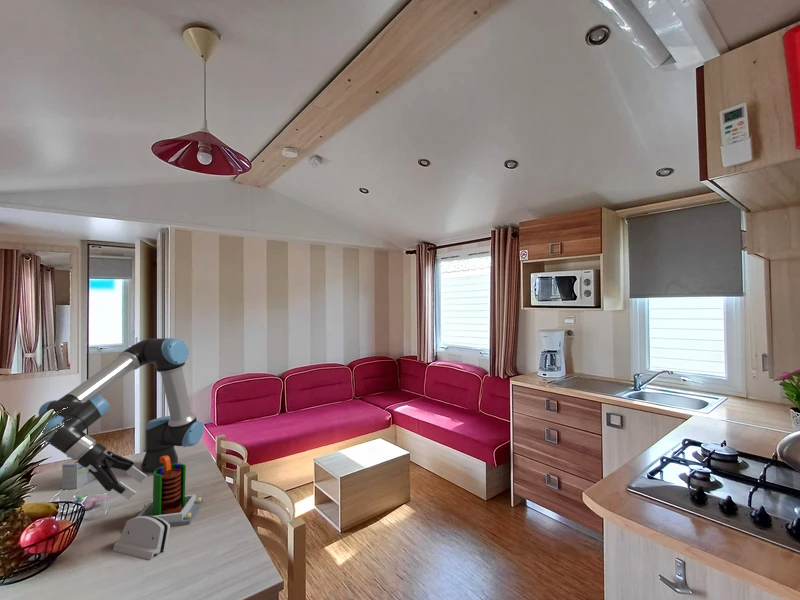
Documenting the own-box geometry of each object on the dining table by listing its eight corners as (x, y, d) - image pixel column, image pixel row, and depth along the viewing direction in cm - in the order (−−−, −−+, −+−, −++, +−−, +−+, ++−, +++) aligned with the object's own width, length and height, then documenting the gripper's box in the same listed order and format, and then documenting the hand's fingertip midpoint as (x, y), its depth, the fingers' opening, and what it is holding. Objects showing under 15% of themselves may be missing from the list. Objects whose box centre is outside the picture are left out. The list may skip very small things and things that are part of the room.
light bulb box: (82, 478, 164) (82, 454, 164) (97, 477, 164) (97, 453, 164) (60, 489, 153) (61, 464, 153) (77, 489, 153) (77, 463, 154)
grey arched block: (111, 550, 113) (123, 514, 117) (126, 546, 117) (137, 511, 121) (151, 560, 108) (162, 522, 112) (165, 556, 112) (175, 519, 116)
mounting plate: (146, 508, 137) (146, 499, 137) (203, 502, 141) (203, 492, 141) (125, 532, 122) (125, 521, 122) (189, 524, 127) (189, 513, 127)
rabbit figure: (56, 523, 131) (108, 505, 138) (53, 507, 130) (105, 490, 138) (62, 514, 136) (111, 498, 143) (59, 499, 136) (109, 483, 143)
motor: (167, 521, 127) (167, 463, 127) (145, 518, 128) (146, 462, 129) (188, 505, 137) (189, 452, 137) (168, 503, 138) (168, 451, 139)
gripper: (91, 448, 134) (139, 481, 139) (58, 475, 111) (117, 514, 116) (109, 431, 136) (155, 465, 141) (80, 455, 113) (137, 494, 118)
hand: (138, 487), depth 129 cm, fingers open, 13 cm apart
